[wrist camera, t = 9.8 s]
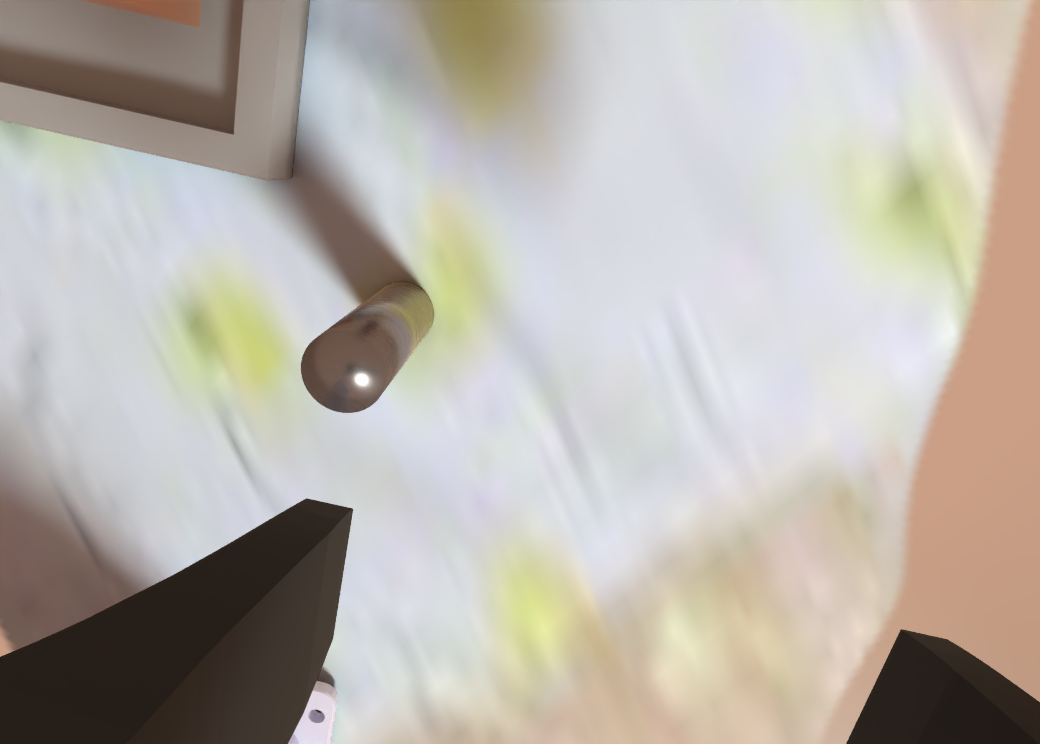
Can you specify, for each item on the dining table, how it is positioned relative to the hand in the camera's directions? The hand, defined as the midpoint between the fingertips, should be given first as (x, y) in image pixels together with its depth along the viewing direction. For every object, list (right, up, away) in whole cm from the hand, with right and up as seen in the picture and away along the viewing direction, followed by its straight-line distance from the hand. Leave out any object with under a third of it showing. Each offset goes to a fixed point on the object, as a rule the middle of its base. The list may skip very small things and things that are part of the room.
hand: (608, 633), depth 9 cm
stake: (-4, +5, +9) cm, 11 cm away
